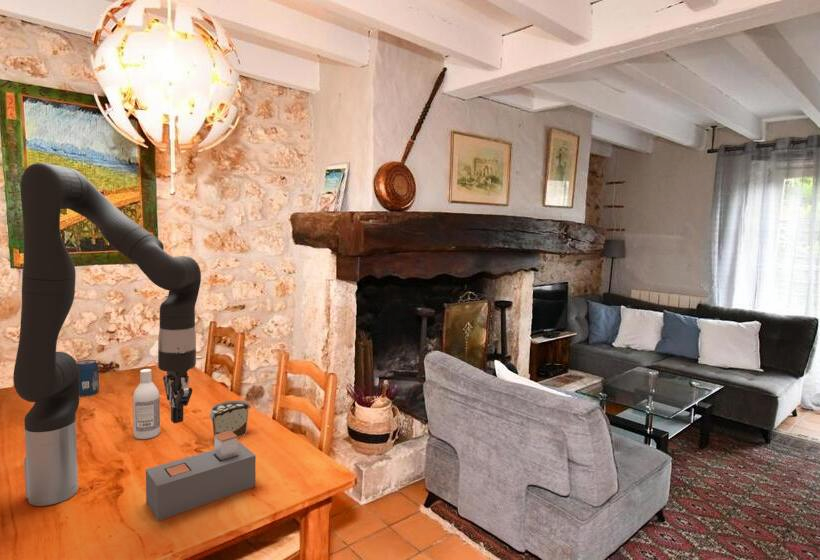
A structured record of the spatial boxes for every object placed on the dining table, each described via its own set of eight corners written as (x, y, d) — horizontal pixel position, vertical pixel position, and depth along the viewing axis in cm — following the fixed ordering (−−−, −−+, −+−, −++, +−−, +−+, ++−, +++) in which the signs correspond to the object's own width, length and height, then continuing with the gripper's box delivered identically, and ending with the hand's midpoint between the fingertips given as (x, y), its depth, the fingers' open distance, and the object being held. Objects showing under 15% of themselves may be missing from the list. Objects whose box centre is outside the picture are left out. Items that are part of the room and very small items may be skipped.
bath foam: (163, 435, 141) (162, 370, 139) (138, 442, 136) (136, 375, 134) (155, 427, 146) (154, 365, 144) (130, 434, 141) (129, 369, 139)
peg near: (171, 508, 105) (171, 476, 105) (166, 500, 108) (165, 468, 107) (190, 501, 108) (190, 470, 107) (184, 493, 111) (184, 463, 110)
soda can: (78, 391, 173) (77, 359, 172) (100, 389, 176) (99, 358, 175) (74, 398, 167) (73, 365, 166) (97, 395, 170) (96, 363, 169)
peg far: (220, 470, 112) (220, 440, 111) (214, 464, 115) (214, 434, 114) (237, 465, 115) (237, 436, 114) (230, 459, 118) (230, 430, 117)
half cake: (239, 427, 149) (239, 396, 148) (250, 433, 145) (250, 402, 144) (201, 439, 140) (201, 407, 139) (212, 446, 136) (212, 413, 135)
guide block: (157, 521, 101) (157, 486, 100) (146, 502, 108) (145, 469, 107) (255, 486, 116) (255, 455, 115) (240, 471, 123) (240, 442, 122)
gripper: (150, 342, 106) (150, 415, 108) (168, 356, 97) (168, 436, 99) (185, 338, 112) (185, 408, 113) (205, 351, 102) (204, 427, 104)
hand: (177, 421), depth 106 cm, fingers closed
